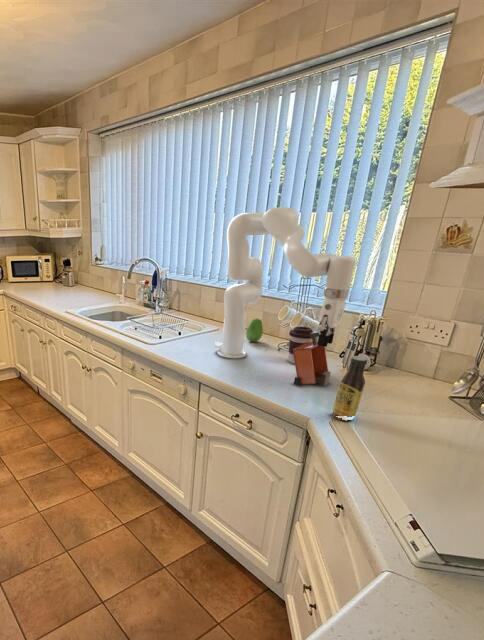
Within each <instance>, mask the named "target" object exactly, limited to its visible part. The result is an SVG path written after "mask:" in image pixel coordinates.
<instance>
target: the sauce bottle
mask: <svg viewBox="0 0 484 640" xmlns="http://www.w3.org/2000/svg"><path fill="white" fill-rule="evenodd" d="M367 363H368V358H366V357H364V356H361V355H353V356H351V358H350V364H349V368H348V370H347V372H346V373H345V375H344V376H343V378H342V379H341V381H340V383H339V386H338V389H337V393H336V397H335V401H334V404H333V408H332V417H333V418H334V419H336V420H339V421H342V422H344V421H343V420H342V418H338V417H336V416H347V417H352V416H355V417H356V416H357V412H358V409H359V406H360V402H361V399H362V395H363V392H364V387H365V384H366V379H365V376H364V373H365V371H364V370H365V367H366V365H367Z"/></svg>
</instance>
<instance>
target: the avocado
mask: <svg viewBox="0 0 484 640" xmlns="http://www.w3.org/2000/svg"><path fill="white" fill-rule="evenodd" d="M263 332H264V329H263V323H262V320H261V319H259V318H253V319H252V320H251V321H250V322H249V324H248V326H247V328H246V330H245V337H246V339H247V340H248V341H249V342H250V343H257V342H259V341H260V340H261V339H262V336H263Z"/></svg>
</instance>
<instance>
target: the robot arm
mask: <svg viewBox="0 0 484 640" xmlns="http://www.w3.org/2000/svg"><path fill="white" fill-rule="evenodd" d="M298 221H299V214H298V212H297V211H296V209H294V208H292V207H280V206H278V207H277V206H276V207H272V208H269V209H268V210H267V211H265V212H243V213H240V214H237V215H236V216H234V217H233V218H232V219H231V221H230V222H229V224H228V227H227V229H226V239H227V276H228V278H229V280H231V281H233V282H242V281H243V283H237V284H232V285H230V286H229V287H227V288H226V289H225V291H224V293H223V305H224V307H223V308H224V313H223V326H222V337H221V342H218V341H215V343H214V348H218V350H217V353H216V354H217V355H218V356H220V357H222V358H226V359H241V358H245V357H246V355H247V352H246V351H244V342H245V336H246V327H247V311H246V308H245V306H250V305H254V304H256V303H258V302H259V301H260V299H261V297H262V292H263V276H264V275H263V272H264V271H263V269H264V268H263V264H262V262H261V260H260V259H259V258H258V257H254V256H250V244H249V241H248V239H247V236H264V235H271V236H272V237H273V238H274V240H276V242H278V243H279V245H280V246H281V247H283V250H284V256H285V258H286V260H287V262H288V264H289V265H290V266H291V268H293V269H294V270H295V271H296V272H297V273H298V274H299V275H301V276H302V277H305V278H314V277H322V276H323V277H324V276H326V279H325V283H324V290H323V294H322V298H323V299H324V300H323V303H322V306H321V309H320V313H319V318H318V326H319V331H320V333H319V337H317V341H318V343H317V345H320V346H324V347H325V348H326V347H328V344H329V345H332V344H333V341H334V336H335V332H336V328H337V327H338V326H341V324H342V322H343V319H344V313H345V308H346V300H347V299H348V297H349V293H350V288H351V285H352V279H353V274H354V270H355V267H356V263H357V262H356V260H357V259H356V258H355V257H354V256H350V255H336V254H332V253H315V254H313V253H312V252H310V251H309V250H308V249H307V248H306V247H305V245H304V244H303V243H302V240H304V237H305V234H306V233H305V229H304V228H303V227H302V226H301V225H300V224H299V222H298ZM331 329H332V334H330V335H329V331H330V330H331Z"/></svg>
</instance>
